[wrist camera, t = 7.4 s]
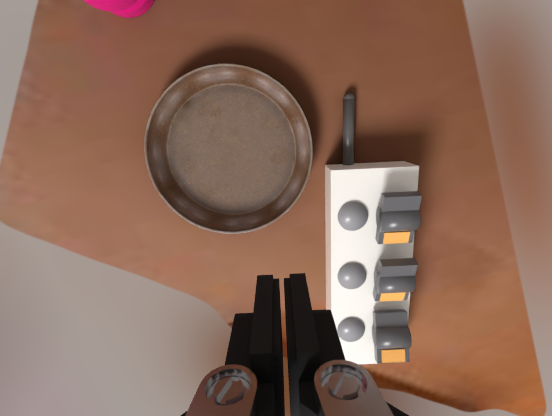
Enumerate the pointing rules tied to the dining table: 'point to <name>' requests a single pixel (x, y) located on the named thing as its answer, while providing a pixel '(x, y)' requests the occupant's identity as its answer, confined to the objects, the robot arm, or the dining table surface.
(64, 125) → the dining table surface
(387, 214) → the switch
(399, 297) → the switch middle
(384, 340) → the switch
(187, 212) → the plant saucer
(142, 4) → the pepper mill
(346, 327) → the power strip
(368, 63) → the dining table surface
